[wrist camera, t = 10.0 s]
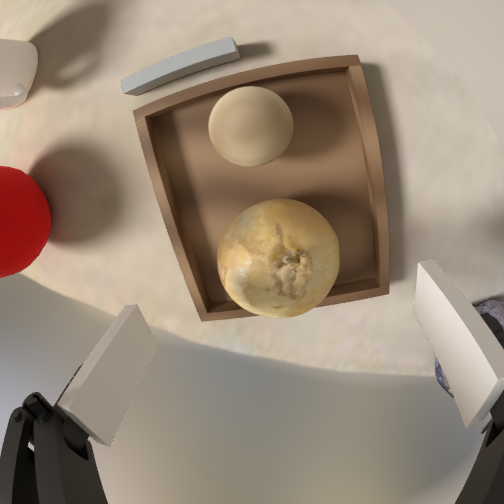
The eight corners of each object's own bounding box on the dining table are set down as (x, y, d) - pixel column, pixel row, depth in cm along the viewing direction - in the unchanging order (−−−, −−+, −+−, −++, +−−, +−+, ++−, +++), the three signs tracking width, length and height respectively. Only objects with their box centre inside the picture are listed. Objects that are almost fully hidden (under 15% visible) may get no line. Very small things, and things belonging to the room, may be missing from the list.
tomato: (59, 267, 25) (-4, 320, 15) (9, 224, 24) (-50, 260, 14) (75, 183, 21) (-16, 222, 11) (19, 146, 20) (-57, 168, 10)
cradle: (118, -16, 12) (107, -23, 10) (205, -52, 11) (199, -64, 9) (136, 95, 17) (123, 93, 15) (240, 58, 16) (235, 51, 14)
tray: (145, 111, 18) (132, 110, 16) (351, 61, 15) (357, 54, 13) (206, 308, 24) (201, 321, 23) (382, 281, 21) (389, 293, 20)
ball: (211, 103, 17) (187, 94, 12) (282, 86, 16) (281, 69, 11) (229, 169, 19) (210, 181, 14) (299, 155, 18) (304, 161, 13)
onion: (327, 289, 22) (340, 350, 15) (231, 287, 23) (211, 346, 16) (335, 191, 18) (360, 222, 12) (223, 191, 19) (193, 221, 13)
